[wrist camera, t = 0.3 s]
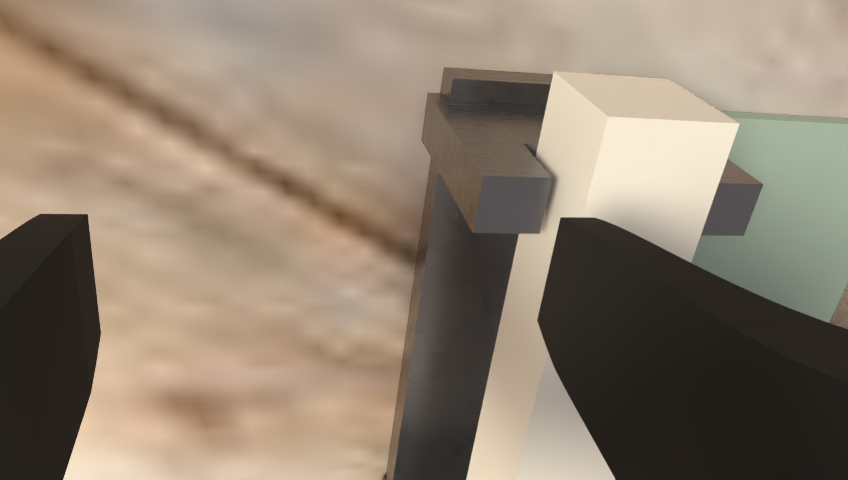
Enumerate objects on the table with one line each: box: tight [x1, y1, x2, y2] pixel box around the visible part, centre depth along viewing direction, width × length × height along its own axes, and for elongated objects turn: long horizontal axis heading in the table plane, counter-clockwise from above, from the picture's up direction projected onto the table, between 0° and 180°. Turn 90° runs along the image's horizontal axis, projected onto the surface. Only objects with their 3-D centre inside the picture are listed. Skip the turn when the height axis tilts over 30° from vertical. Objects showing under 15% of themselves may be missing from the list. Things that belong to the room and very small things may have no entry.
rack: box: [386, 67, 763, 480], centre depth 23 cm, size 18×7×6 cm, turn 172°
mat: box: [691, 111, 848, 323], centre depth 28 cm, size 20×9×1 cm, turn 172°
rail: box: [466, 71, 740, 480], centre depth 21 cm, size 20×3×3 cm, turn 172°
